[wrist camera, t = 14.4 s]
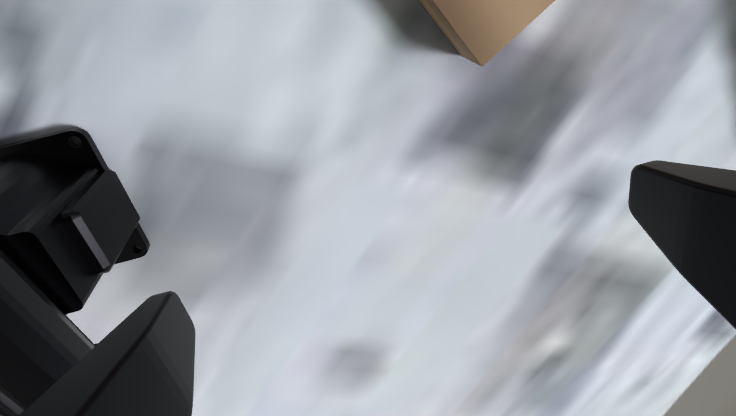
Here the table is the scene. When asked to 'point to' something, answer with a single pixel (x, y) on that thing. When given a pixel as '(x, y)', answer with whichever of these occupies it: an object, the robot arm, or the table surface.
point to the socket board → (483, 23)
